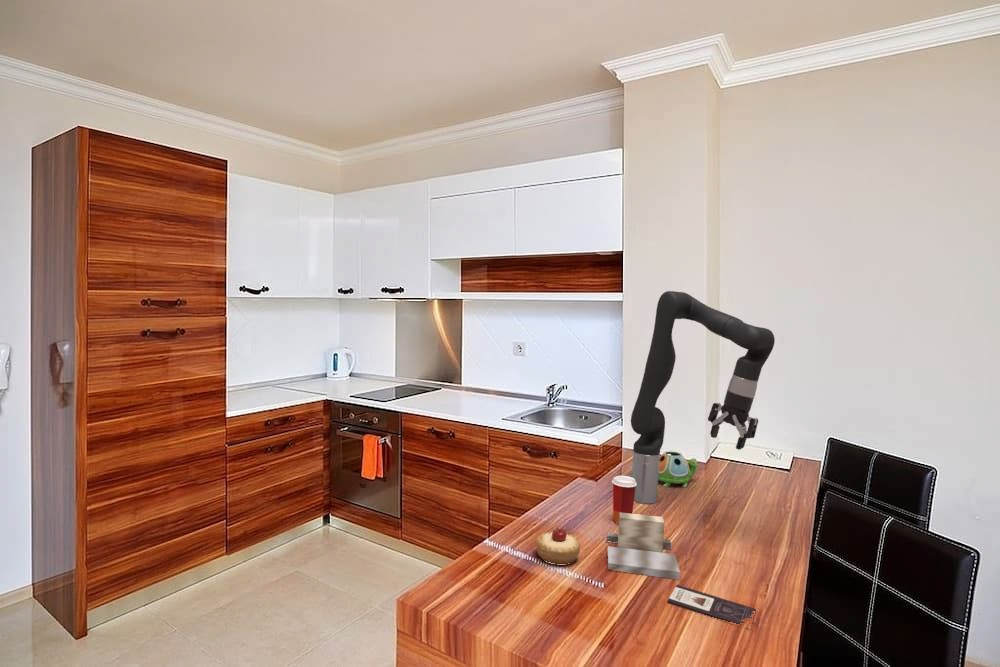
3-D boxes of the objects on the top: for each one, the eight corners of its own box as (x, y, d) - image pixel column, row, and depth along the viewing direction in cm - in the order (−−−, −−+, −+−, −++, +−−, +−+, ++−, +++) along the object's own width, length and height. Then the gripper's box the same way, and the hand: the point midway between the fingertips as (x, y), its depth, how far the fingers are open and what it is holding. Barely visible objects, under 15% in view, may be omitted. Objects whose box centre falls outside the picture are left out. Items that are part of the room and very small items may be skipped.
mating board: (608, 570, 143) (608, 563, 143) (606, 539, 162) (607, 532, 162) (679, 579, 140) (680, 571, 140) (669, 546, 159) (670, 540, 159)
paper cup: (636, 520, 177) (639, 477, 176) (631, 528, 170) (634, 484, 169) (612, 515, 181) (615, 473, 180) (606, 523, 174) (609, 480, 173)
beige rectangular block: (618, 552, 154) (620, 517, 153) (617, 546, 158) (619, 512, 157) (662, 557, 152) (664, 522, 151) (660, 551, 156) (662, 517, 155)
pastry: (587, 560, 149) (590, 529, 149) (559, 573, 141) (563, 540, 140) (553, 543, 158) (556, 513, 157) (526, 555, 150) (528, 523, 149)
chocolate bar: (750, 627, 119) (667, 600, 129) (750, 632, 120) (667, 604, 129) (756, 608, 127) (677, 584, 137) (755, 612, 127) (676, 588, 137)
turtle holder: (705, 487, 212) (707, 457, 211) (663, 489, 208) (665, 458, 207) (688, 476, 224) (690, 448, 223) (647, 478, 220) (649, 449, 219)
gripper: (713, 384, 166) (698, 434, 169) (756, 400, 155) (740, 453, 157) (726, 384, 170) (712, 433, 173) (770, 400, 159) (754, 452, 162)
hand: (725, 443), depth 165 cm, fingers open, 8 cm apart
